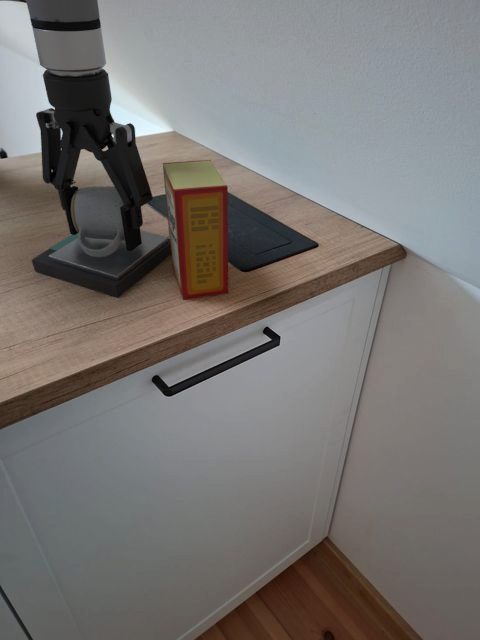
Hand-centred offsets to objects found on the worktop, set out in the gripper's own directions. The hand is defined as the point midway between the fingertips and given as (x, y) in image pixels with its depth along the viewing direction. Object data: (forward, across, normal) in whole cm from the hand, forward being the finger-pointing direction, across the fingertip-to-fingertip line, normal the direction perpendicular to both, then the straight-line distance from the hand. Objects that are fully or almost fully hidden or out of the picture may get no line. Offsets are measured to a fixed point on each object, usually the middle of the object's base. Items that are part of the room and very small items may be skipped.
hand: (105, 238), depth 73 cm
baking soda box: (+4, -15, -2) cm, 15 cm away
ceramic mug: (0, -1, 0) cm, 1 cm away
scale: (+4, 0, 0) cm, 4 cm away
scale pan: (+2, -1, 0) cm, 2 cm away
